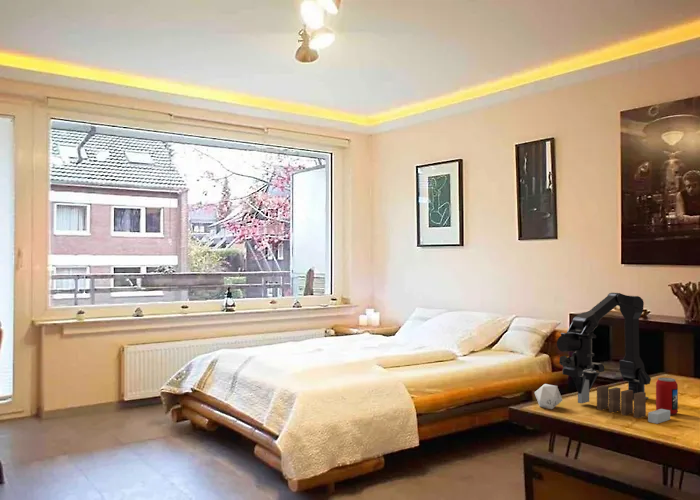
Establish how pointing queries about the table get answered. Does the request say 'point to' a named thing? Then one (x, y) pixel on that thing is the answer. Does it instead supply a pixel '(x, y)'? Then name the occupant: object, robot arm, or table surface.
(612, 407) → the tile
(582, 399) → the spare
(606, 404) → the tile
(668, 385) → the beverage can
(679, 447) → the table surface
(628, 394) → the tile
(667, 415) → the block
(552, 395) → the die
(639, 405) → the tile
